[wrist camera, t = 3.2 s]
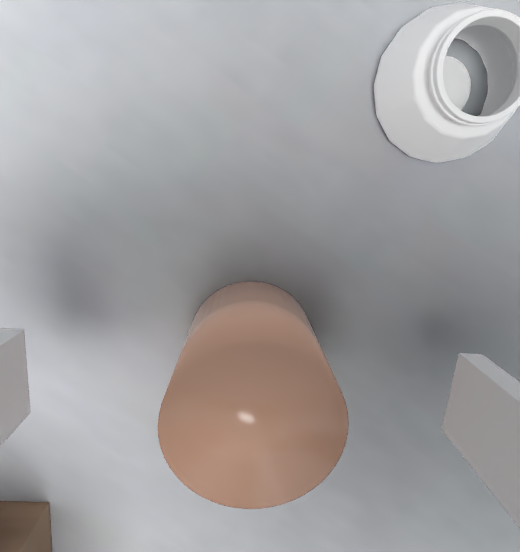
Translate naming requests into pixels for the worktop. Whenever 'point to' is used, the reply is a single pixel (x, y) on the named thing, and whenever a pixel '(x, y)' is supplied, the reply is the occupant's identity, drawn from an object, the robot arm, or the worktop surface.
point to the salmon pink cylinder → (252, 402)
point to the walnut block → (25, 527)
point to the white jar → (447, 81)
